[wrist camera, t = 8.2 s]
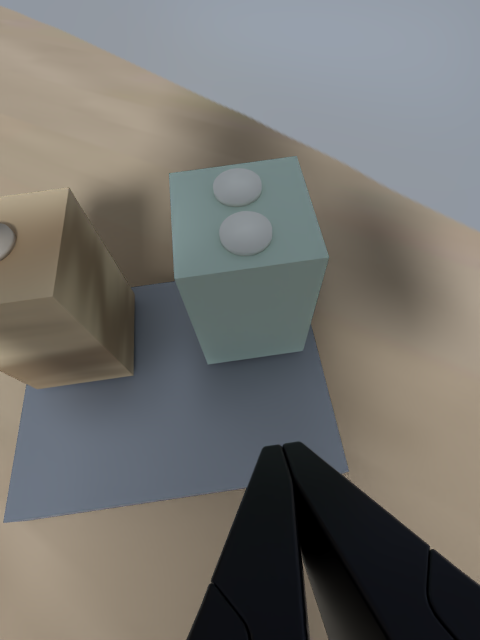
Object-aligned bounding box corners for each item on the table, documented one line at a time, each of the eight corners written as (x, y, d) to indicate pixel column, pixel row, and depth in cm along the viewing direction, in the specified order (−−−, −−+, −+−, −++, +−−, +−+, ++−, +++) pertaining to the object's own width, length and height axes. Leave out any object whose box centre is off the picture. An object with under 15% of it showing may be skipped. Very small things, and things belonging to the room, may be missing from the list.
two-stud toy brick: (302, 350, 16) (330, 253, 10) (208, 364, 16) (172, 274, 10) (284, 273, 18) (297, 150, 12) (200, 285, 18) (167, 168, 12)
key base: (341, 473, 15) (348, 471, 14) (26, 520, 15) (3, 522, 14) (293, 279, 20) (295, 264, 19) (55, 313, 20) (40, 300, 19)
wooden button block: (133, 375, 16) (49, 292, 10) (37, 389, 16) (-113, 315, 10) (134, 294, 18) (65, 182, 12) (49, 306, 18) (-66, 200, 12)
